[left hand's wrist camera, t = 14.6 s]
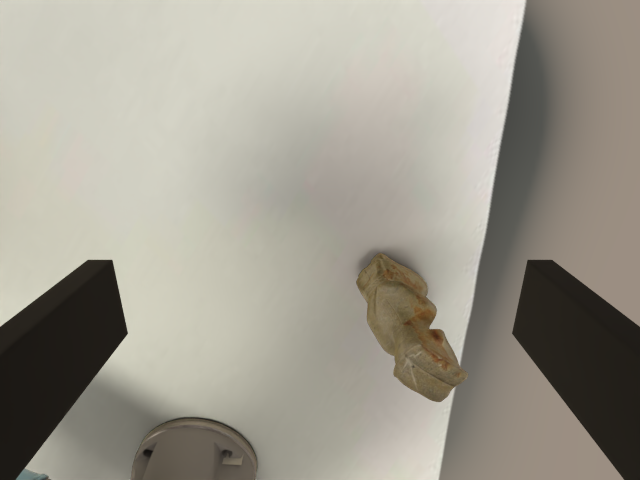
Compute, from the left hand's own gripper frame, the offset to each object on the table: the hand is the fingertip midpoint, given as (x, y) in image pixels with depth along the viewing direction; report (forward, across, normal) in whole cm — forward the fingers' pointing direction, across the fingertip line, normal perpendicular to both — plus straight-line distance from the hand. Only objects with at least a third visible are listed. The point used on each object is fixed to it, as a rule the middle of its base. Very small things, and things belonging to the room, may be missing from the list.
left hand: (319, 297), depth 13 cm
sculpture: (+26, -7, +12) cm, 30 cm away
